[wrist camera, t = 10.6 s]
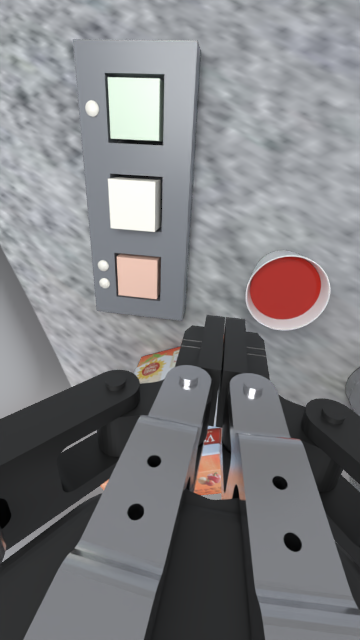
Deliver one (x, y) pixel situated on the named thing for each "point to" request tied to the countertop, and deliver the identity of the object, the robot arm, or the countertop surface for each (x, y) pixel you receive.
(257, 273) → the candle
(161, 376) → the cracker box
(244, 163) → the countertop surface
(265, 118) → the countertop surface
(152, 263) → the rose key
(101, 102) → the keypad
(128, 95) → the sage key
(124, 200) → the cream key
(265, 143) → the countertop surface
